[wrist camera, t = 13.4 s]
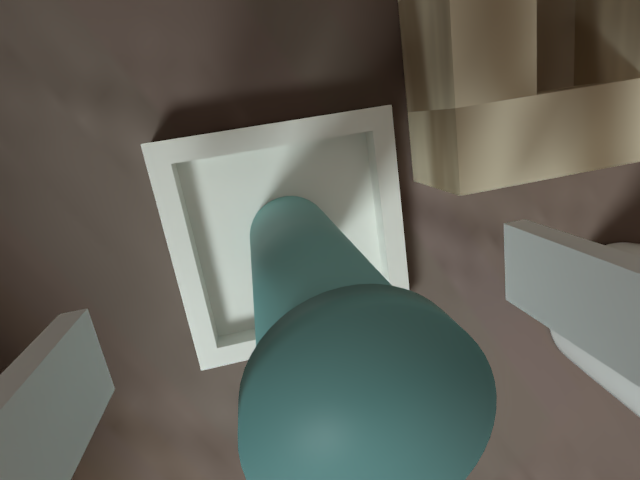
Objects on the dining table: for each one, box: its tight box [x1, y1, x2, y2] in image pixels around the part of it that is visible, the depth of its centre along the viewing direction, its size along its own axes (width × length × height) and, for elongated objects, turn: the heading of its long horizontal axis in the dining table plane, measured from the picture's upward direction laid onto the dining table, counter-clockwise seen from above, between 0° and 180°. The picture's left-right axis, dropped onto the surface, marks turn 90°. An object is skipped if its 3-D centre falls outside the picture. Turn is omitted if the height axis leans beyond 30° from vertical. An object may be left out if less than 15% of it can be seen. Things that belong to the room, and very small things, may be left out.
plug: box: [238, 196, 496, 480], centre depth 14 cm, size 5×5×14 cm
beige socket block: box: [398, 0, 640, 196], centre depth 19 cm, size 12×12×5 cm
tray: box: [141, 105, 409, 371], centre depth 21 cm, size 11×11×2 cm
